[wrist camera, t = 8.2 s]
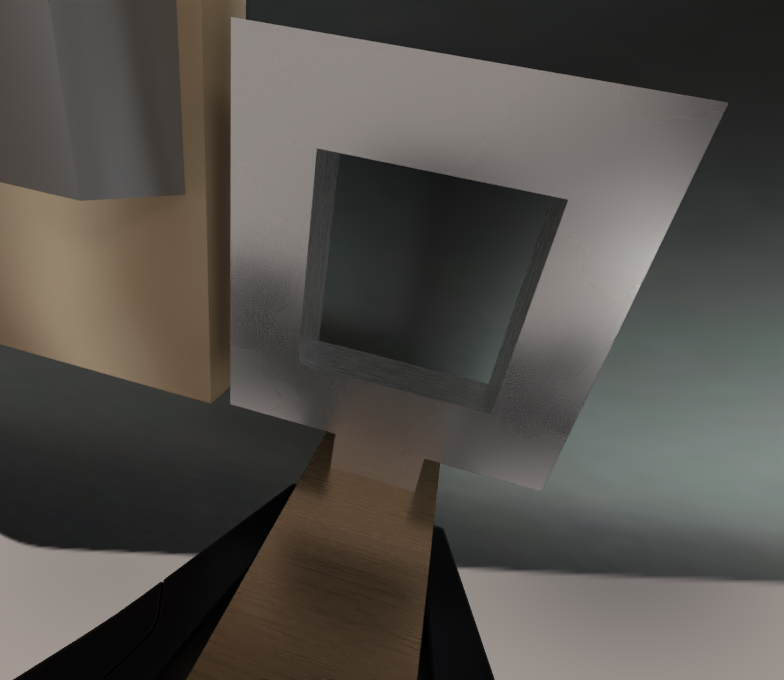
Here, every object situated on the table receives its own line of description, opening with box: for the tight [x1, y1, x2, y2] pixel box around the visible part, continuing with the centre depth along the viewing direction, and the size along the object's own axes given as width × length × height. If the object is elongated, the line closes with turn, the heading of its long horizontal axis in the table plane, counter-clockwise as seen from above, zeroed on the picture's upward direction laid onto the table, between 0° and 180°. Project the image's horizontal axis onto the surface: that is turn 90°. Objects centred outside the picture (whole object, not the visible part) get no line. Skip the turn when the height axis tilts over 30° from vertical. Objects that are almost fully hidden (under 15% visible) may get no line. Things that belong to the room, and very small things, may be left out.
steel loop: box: [187, 17, 728, 680], centre depth 6 cm, size 7×11×6 cm, turn 169°
